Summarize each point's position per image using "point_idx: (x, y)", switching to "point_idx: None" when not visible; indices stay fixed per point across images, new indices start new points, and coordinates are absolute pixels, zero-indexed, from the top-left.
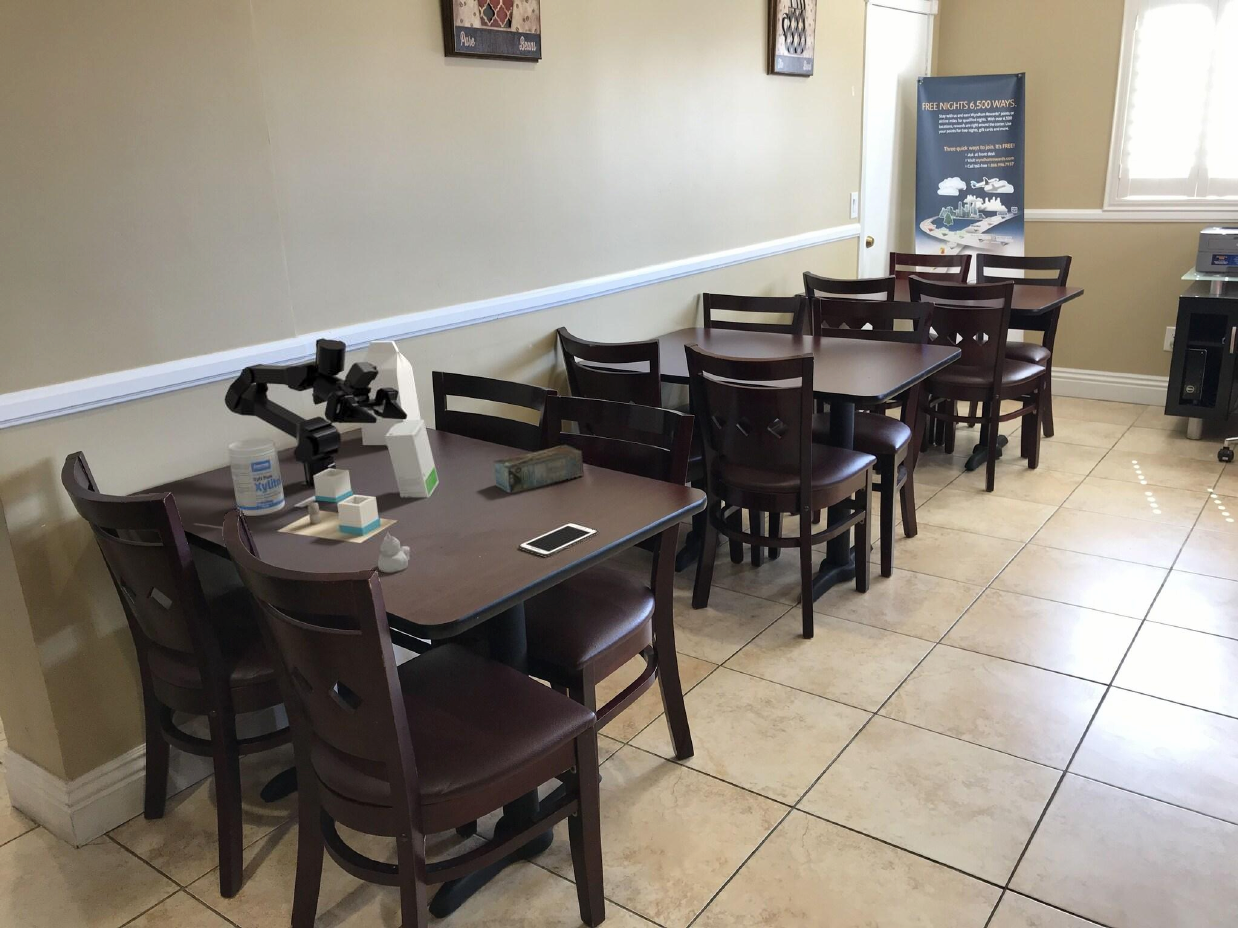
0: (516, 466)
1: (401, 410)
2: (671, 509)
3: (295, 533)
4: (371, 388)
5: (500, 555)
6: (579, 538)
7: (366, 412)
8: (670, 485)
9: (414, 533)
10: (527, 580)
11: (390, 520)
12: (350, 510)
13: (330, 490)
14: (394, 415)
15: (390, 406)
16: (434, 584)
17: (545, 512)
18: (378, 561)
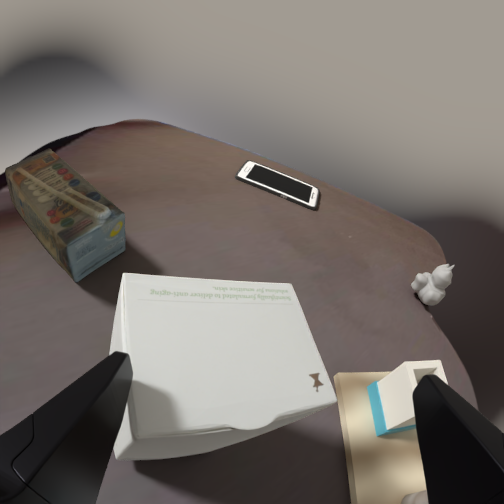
0: (111, 202)
1: (95, 386)
2: (172, 128)
3: None
4: None
5: (337, 221)
6: (272, 170)
7: (478, 415)
8: (103, 128)
9: (345, 332)
10: (359, 199)
11: (344, 384)
12: None
13: None
14: (98, 465)
15: (46, 502)
16: (410, 256)
17: (202, 199)
18: (444, 295)
